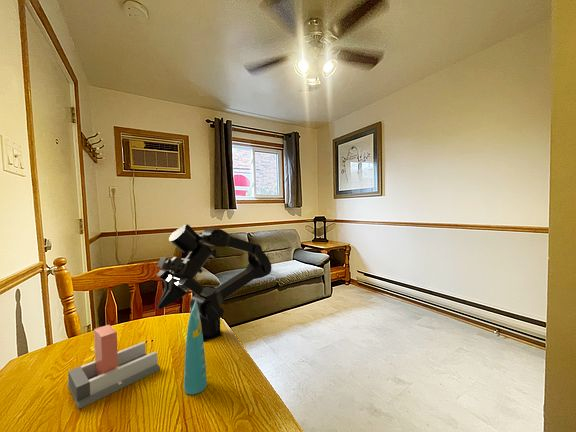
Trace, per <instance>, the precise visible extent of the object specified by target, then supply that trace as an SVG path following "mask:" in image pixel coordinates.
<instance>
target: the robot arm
mask: <svg viewBox="0 0 576 432" xmlns="http://www.w3.org/2000/svg"><path fill="white" fill-rule="evenodd" d="M168 241H169V242H170V243H172V245H174V246H175V247H176V248H177V249H178V250H180V251H181V252H182V253H188V254H187V255H186V257H184V258H182V257H179V256H178V257H177V256H173V257H172V258H168V257H163V256H160V259H159V260H158V263H157V265H156V268H157V269H160V270H159V271H158V272H157V274H156V277H158V278H160V279H161V280H162V282H163V285H164V286H163V287H164V288H163V290H162V294H161V296H160V298H159V301H158V302H157V306H156V307H157V308H156V309H159V310H162V309H164V308H166V307H167V306H169V305H171V304H172V303H173V302H175V301H177V300H179V299H180V298H182V297H184V296H186V295H189V292H188V291H191V292H192V294H193V296H192V297H191V298H190V302H189V307H190V309H191V311H192V308H193V305H194V303H195V300H196V301H197V305H198V310H199V315H200V320H201V326H202V334H203V342H206V341H209V340H212V339H215V338H218V337H221V336H223V333H222V332H221V318H223V316H224V312H225V310H224V309H223V308H222V307H221V306H222V303H223V301H225V299H227V298H228V297H230V296H232V295H233V294H235V293H236V292H237V291H239V290H241V289H242V288H243V287H244V286H246V285H247V284H249V283H250V282H251V281H253V280H257V279H261V278H265V277H266V276H269V275H270V274H271V272H272V270H273V269H272V268H273V267H272V263H271V262H270V259H269V256H267V255H266V253H265V251H263V249H262V246H261V245H260V244H258V243H254V242H250V241H247V240H243V239H240V238H238V237H234V236H232V235H231V234H230V233H228V232H226V231H224V230H223V229H220V228H212V227H211V228H210V227H209V228H205V229H204V230H203V231H202V232H200V233H197V232H196V231H195V230H194V229H193V228H192V227H191V226H190V225H189V224H187V223H186V224H185V223H184V224H183V225H182V226H180V227H179V228H177V229H176V230H174V231H173V232H172V233H171V234H170V236H169V238H168ZM201 242H202V243H201ZM210 246H211V247H218V248H231V249H234V250H238V251H241V252H245V253H246V254H247V261H248V264H247V266H246V267H245V268H246V269H244V270H242V271H241V272H239V273H238V274H236V275H234V276H233V277H231V278H229V279H228V280H226V281H225V282H223V283H222V284H220V285H218V286H216V287H215V288H212V287H209V286H205V287H204V285H202V284H201V283H200V282H199V281H198V280H197V279H195V277H197V275H198V273H199V274H202V273H203V271H204V270H203V269H202V268H203V267H204V265H205V263H207V261H208V259H209V258H213V259H217V258H218V255H217V249H214V248H211V247H210Z"/></svg>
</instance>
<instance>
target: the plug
mask: <svg viewBox="0 0 576 432" xmlns="http://www.w3.org/2000/svg"><path fill="white" fill-rule="evenodd" d="M93 333H94V335H93V336H94V361H95V366H96V375H97V376H99V375H101V374H103V373H106V372H108V371H110V370H113V369H115V367H117V366H118V331H116V329H114V327H112V326H111V325H110V324H106V325H103V326H99V327H96V328H94V329H93Z"/></svg>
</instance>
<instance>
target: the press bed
mask: <svg viewBox="0 0 576 432" xmlns="http://www.w3.org/2000/svg"><path fill="white" fill-rule="evenodd" d="M146 351H147V350H146V342H145V341H142V342H139V343H137V344H134V345H132V346H129V347H127V348H124V349H121V350H119V351H118V350H117V352H118V366H117V367H115V369H113V370H110V371H108V372H106V373H103V374H101V375H99V376H97V375H96V366H95V360H93V361H91V362H88V363H85V364H83V365H80V366H77V367H74V368H72V369H70V370H68V371H67V372H68V381H67V386H68V389H69V391H70V393H71V396H72V398H73V400H74V402H75V405H76V408H77V409H78V410H80V409H82V408H84V407H86V406H89V405H90V404H92V403H94V402H97V401H99V400H100V399H103V398H105V397H106V396H109V395H111V394H114V393H115V392H117V391H118V390H121V389H123V388H125V387H127V386H130V385H132V384H133V383H135V382H138V381H139V380H141V379H143V378H145V377H148V376H150V375H151V374H154V373H156V372H158V371H160V365H159V364H158V352H157V351H156V350H155V351H153V352H150V353H148V354H147V353H146Z"/></svg>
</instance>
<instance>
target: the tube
mask: <svg viewBox="0 0 576 432" xmlns="http://www.w3.org/2000/svg"><path fill="white" fill-rule="evenodd" d="M187 324H188V325H187V331H186V338H185V339H186V341H185V355H184V356H185V357H184V378H183V383H184V385H183V390H184V392H185V394H187V395H191V396H192V395H196V394H199V393H201V392H203V391H204V390H205V389H206V387H207V386H208V384H207V383H208V381H207V379H208V378H207V368H206V367H207V366H206V354H205V353H206V352H205V343H204V342H205V341H203V334H202V326H201V320H200V315H199V310H198V305H197V301H196V300H195V303H194V305H193V308H192V310H191V311H190V313H189V318H188V323H187Z"/></svg>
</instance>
